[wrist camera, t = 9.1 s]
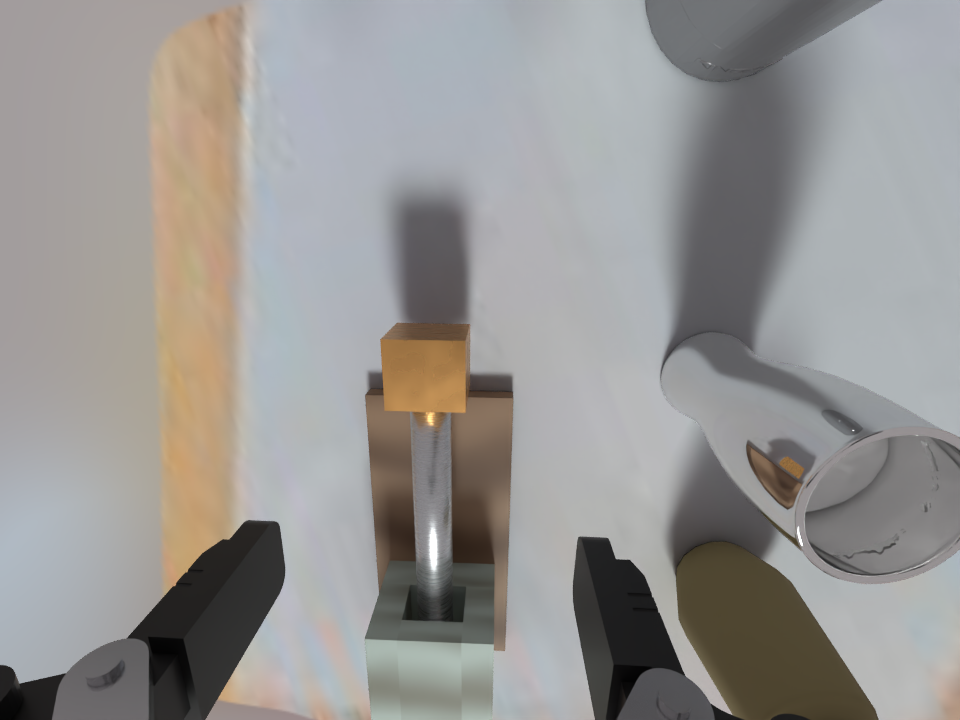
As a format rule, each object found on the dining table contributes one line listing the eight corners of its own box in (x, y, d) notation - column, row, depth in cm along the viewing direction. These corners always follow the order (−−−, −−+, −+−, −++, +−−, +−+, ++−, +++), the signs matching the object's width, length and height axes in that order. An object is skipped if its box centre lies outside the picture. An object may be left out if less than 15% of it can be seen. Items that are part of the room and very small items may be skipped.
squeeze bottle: (653, 538, 34) (810, 856, 17) (762, 517, 33) (1045, 829, 16) (668, 619, 36) (820, 974, 19) (771, 602, 36) (1027, 957, 18)
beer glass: (655, 328, 30) (802, 427, 15) (764, 321, 29) (1021, 415, 15) (651, 425, 32) (780, 592, 17) (754, 419, 31) (972, 586, 17)
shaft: (397, 322, 27) (380, 339, 23) (469, 324, 27) (465, 340, 23) (410, 612, 33) (398, 663, 30) (469, 615, 33) (465, 666, 29)
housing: (370, 388, 32) (329, 441, 24) (512, 391, 31) (517, 446, 24) (386, 633, 38) (358, 736, 30) (504, 637, 38) (506, 743, 30)
